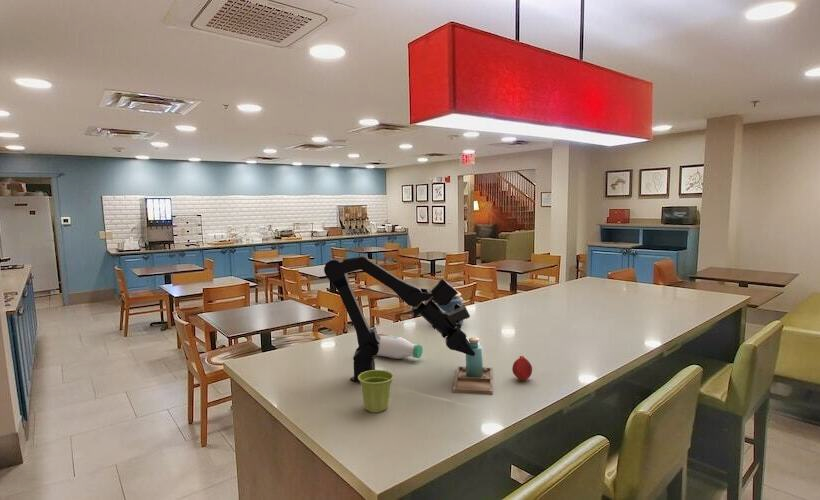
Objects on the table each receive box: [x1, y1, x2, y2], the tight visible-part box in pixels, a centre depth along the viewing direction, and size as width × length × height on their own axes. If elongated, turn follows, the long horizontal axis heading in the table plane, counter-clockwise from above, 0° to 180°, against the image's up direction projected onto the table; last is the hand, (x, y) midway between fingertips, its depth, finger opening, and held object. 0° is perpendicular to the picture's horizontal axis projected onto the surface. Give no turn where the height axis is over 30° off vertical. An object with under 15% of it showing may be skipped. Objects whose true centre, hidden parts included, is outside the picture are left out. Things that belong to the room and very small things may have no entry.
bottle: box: [465, 337, 484, 378], centre depth 137 cm, size 5×5×12 cm
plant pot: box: [358, 369, 395, 413], centre depth 116 cm, size 9×9×9 cm
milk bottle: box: [376, 332, 424, 360], centre depth 157 cm, size 8×8×20 cm
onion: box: [511, 354, 533, 381], centre depth 133 cm, size 6×6×8 cm
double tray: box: [452, 365, 494, 395], centre depth 133 cm, size 19×11×2 cm, turn 170°
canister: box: [435, 290, 464, 326], centre depth 203 cm, size 13×13×18 cm
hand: (471, 350), depth 137 cm, fingers open, 9 cm apart
